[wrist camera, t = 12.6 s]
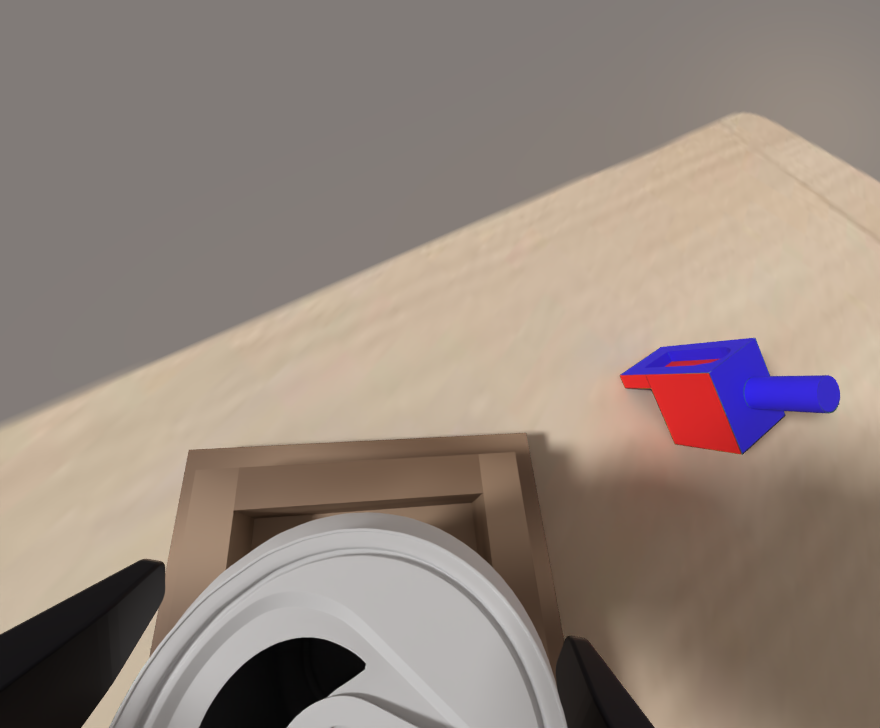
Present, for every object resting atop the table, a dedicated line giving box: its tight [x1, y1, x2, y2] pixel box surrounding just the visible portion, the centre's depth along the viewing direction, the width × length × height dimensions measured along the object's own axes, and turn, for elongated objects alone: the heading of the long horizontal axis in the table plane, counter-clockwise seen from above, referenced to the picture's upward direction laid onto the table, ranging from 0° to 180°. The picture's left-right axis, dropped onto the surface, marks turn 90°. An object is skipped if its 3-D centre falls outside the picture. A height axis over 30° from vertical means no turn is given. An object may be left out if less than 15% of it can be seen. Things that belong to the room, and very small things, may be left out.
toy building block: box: [620, 338, 840, 455], centre depth 20 cm, size 4×4×8 cm
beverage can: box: [109, 512, 568, 728], centre depth 10 cm, size 6×6×12 cm
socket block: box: [149, 433, 564, 686], centre depth 15 cm, size 15×15×4 cm
